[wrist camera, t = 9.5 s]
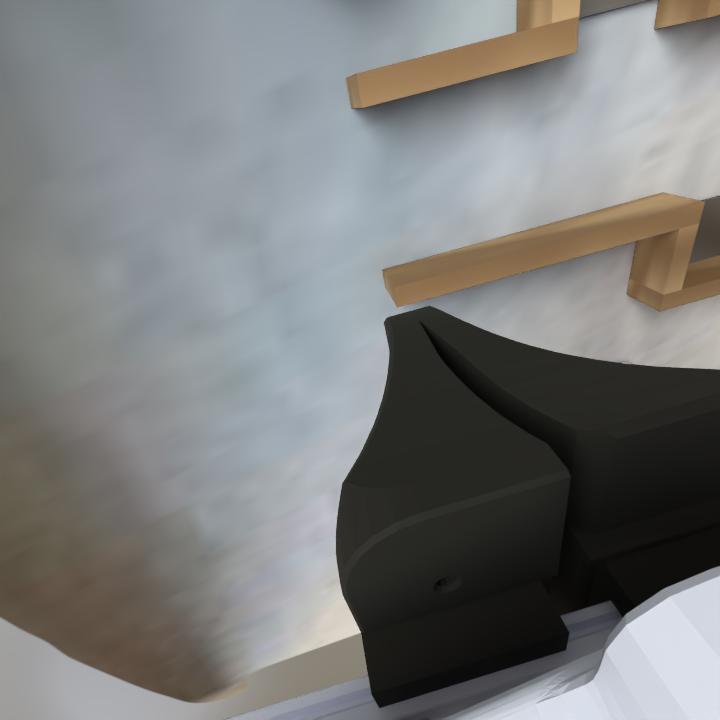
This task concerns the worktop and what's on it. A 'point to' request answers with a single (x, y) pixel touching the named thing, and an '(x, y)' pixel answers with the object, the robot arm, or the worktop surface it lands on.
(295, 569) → the worktop surface
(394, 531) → the robot arm
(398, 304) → the trap lane
